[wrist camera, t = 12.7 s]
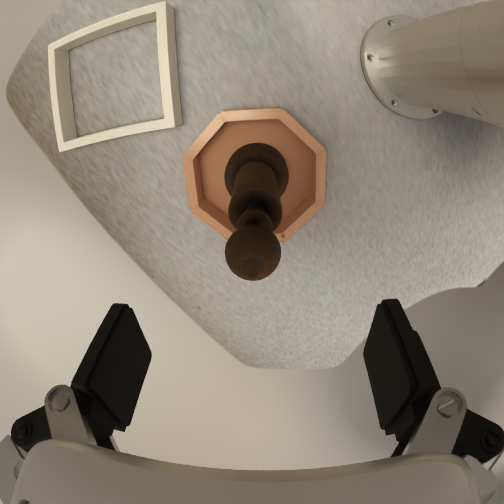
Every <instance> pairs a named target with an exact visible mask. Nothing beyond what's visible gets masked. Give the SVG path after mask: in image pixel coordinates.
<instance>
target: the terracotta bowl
mask: <svg viewBox="0 0 504 504" xmlns="http://www.w3.org/2000/svg"><path fill="white" fill-rule="evenodd" d="M250 143H264V144H268V145H270V146H272V147H274V148H275V149H277V150H278V151H279V152H280V153H281V155H282V156H283V158H284V159H285V162H286V164H287V167H288V172H289V181H288V185H287V188H286V190H285V192H284V194H283V195H282V196H281V197H280V200H281V204H282V210H283V216H282V220H281V223H280V225H279V226H278V228H277V229H276V230H275V231H273V233H274V234H275V235H276V237H277V238H278V241H279V242H285V240H286V241H287V240H288V239H289V238H290V237H291V236H292V235H294V234H295V233H296V232H297V231H298V230H299V229H300V228H301V227H302V226H303V225H304V224H305V223H307V222H308V221H309V220H310V219H311V218H312V217H313V216H314V215H315V214H316V213H317V212H318V211H319V210H321V209H322V208H323V207H324V204H325V194H326V155H327V151H326V149H325V148H324V147H323V146H322V145H321V144H320V143H319V142H318V141H317V140H316V139H315V138H314V137H313V136H312V135H311V134H310V133H309V132H308V131H307V130H305V129H304V128H303V127H302V126H301V125H300V124H299V123H298V122H297V121H296V120H295V119H294V118H293V117H292V116H290V115H289V114H288V113H287V112H286V111H285V110H284V109H282V108H280V107H270V108H248V109H234V110H224V111H222V112H220V113H218V115H217V116H216V117H215V118H214V119H213V120H212V122H211V123H210V124H209V125H208V126H207V127H206V129H205V130H204V131H203V132H202V133H201V135H200V136H199V137H198V138H197V139H196V141H195V142H194V143H193V144H192V146H191V147H190V148H189V149H188V151H187V152H186V153H185V154H184V156H183V158H182V160H183V167H184V174H185V182H186V188H187V195H188V202H189V208H190V210H191V212H192V213H193V214H195V215H196V216H197V217H198V218H200V219H201V220H202V221H204V222H205V223H206V224H207V225H209V226H210V227H211V228H213V229H214V230H215V231H217V232H218V233H219V234H220V235H222V236H223V237H224V238H226V239H227V240H228V239H229V237H230V236H231V235H232V233H233V232H235V231H236V229H235V228H234V226H233V225H232V224H231V222H230V219H229V216H228V207H229V203H230V200H231V196H230V194H229V193H228V191H227V189H226V186H225V181H224V173H225V168H226V165H227V163H228V161H229V159H230V157H231V155H232V154H233V153H234V152H235V151H236V150H237V149H239V148H240V147H242V146H244V145H247V144H250Z"/></svg>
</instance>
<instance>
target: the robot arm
mask: <svg viewBox="0 0 504 504" xmlns="http://www.w3.org/2000/svg"><path fill="white" fill-rule="evenodd" d="M388 24H389V25H390V26H389V25H388ZM367 57H369V58H370V60H369V61H368V60H367ZM361 63H362V68H363V72H364V75H365V78H366V80H367V82H368V84H369V86H370V88H371V90H372V91H373V92H374V94H375V95H376V96H377V98H378V99H379V100H380V101H381V102H382V103H383V104H384V105H385V106H386V107H388V108H389V109H391V110H392V111H394V112H395V113H398V114H400V115H402V116H405V117H408V118H413V119H419V120H420V119H430V118H433V117H436V116H438V115H439V114H441V113H443V112H449V113H453V114H458V115H462V116H466V117H469V118H473V119H477V120H481V121H484V122H487V123H491V124H494V125H497V126H500V127H503V128H504V0H493V1H488V2H483V3H478V4H474V5H469V6H465V7H461V8H457V9H454V10H450V11H446V12H443V13H440V14H436V15H433V16H430V17H427V18H424V19H421V20H417V19H414V18H412V17H407V16H391V17H387V18H384V19H382V20H380V21H378V22H377V23H375V24H374V25H373V26H371V28H370V29H369V30H368V32H367V33H366V35H365V37H364V39H363V42H362V47H361ZM391 101H393V104H391ZM432 109H433V110H432ZM363 353H364V354H363V355H364V360H365V364H366V368H367V372H368V376H369V380H370V384H371V388H372V392H373V396H374V401H375V405H376V410H377V414H378V419H379V424H380V427H381V429H382V430H383V429H385V433H386V435H391V434H395V436H396V440H397V443H396V445H395V446H394V448H393V450H392V452H391V453H390V455H389V457H388V458H385V459H380V460H374V461H369V462H363V463H356V464H349V465H342V466H334V467H325V468H315V469H301V470H271V471H270V470H268V471H266V470H265V471H264V470H263V471H262V470H232V469H217V468H206V467H197V466H190V465H182V464H176V463H169V462H164V461H159V460H154V459H148V458H144V457H139V456H135V455H131V454H127V453H122V452H120V451H119V449H118V447H117V445H116V443H115V440H114V438H113V436H112V433H113V430H114V429H115V430H119V431H123V432H125V429H126V426H129V425H130V423H131V420H132V417H133V413H134V409H135V407H136V404H137V401H138V398H139V394H140V391H141V388H142V385H143V382H144V379H145V376H146V373H147V370H148V367H149V364H150V361H151V356H152V354H151V350H150V348H149V346H148V343H147V341H146V339H145V337H144V335H143V332H142V330H141V328H140V326H139V323H138V321H137V318H136V316H135V313H134V311H133V309H132V308H129V306H128V304H118V303H114V304H113V305H112V306H111V308H110V309H109V311H108V313H107V315H106V316H105V318H104V320H103V322H102V324H101V325H100V327H99V329H98V331H97V333H96V335H95V336H94V338H93V340H92V342H91V344H90V346H89V348H88V350H87V352H86V354H85V356H84V358H83V360H82V362H81V364H80V366H79V368H78V370H77V372H76V374H75V376H74V378H73V380H72V382H71V383H72V384H71V386H70V387H69V386H67V385H57V386H55V387H53V388H52V389H51V390H50V391H49V392H48V393H47V395H46V397H45V405H44V406H43V407H41V408H39V409H37V410H35V411H33V412H31V413H29V414H27V415H25V416H23V417H21V418H19V419H18V420H16V421H15V423H14V424H13V426H12V429H11V436H9V435H7V436H6V437H5V438H4V439H3V440H2V441H1V442H0V499H1V500H2V502H3V504H504V431H503V429H502V428H501V427H500V426H499V425H497V424H496V423H493V422H492V421H490V420H488V419H486V418H484V417H482V416H480V415H478V414H476V413H474V412H472V411H470V410H468V409H467V404H466V400H465V397H464V396H463V394H462V393H461V392H460V391H458V390H457V389H454V388H450V387H448V388H447V387H446V388H443V389H441V387H440V384H439V381H438V379H437V376H436V374H435V371H434V369H433V367H432V364H431V362H430V359H429V357H428V355H427V353H426V350H425V348H424V345H423V343H422V341H421V339H420V336H419V335H418V333H417V332H416V331H414V330H413V329H412V327H411V325H410V323H409V321H408V318H407V316H406V314H405V312H404V310H403V308H402V306H401V304H400V302H399V300H398V299H385V300H382V302H381V304H378V305H377V308H376V311H375V315H374V318H373V322H372V325H371V328H370V332H369V335H368V338H367V341H366V345H365V347H364V352H363Z"/></svg>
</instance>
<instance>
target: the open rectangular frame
mask: <svg viewBox="0 0 504 504" xmlns="http://www.w3.org/2000/svg"><path fill="white" fill-rule="evenodd" d="M154 20H157V41H158V57H159V70H160V82H161V92H162V102H163V111H164V118H161V119H155V120H149V121H144V122H139V123H134V124H129V125H125V126H120V127H116V128H111V129H107V130H103V131H99V132H95V133H92V134H88V135H84V136H81V137H77V132H76V125H75V119H74V111H73V103H72V94H71V84H70V70H69V50H70V49H72V48H75V47H77V46H79V45H82V44H84V43H87V42H89V41H92V40H94V39H97V38H99V37H102V36H105V35H108V34H110V33H113V32H116V31H119V30H122V29H125V28H129V27H132V26H135V25H139V24H142V23H146V22H150V21H154ZM48 60H49V78H50V91H51V101H52V109H53V117H54V124H55V130H56V136H57V142H58V148H59V152H62V151H66V150H69V149H73V148H76V147H80V146H84V145H87V144H91V143H95V142H99V141H104V140H108V139H112V138H117V137H122V136H126V135H131V134H137V133H142V132H147V131H153V130H159V129H166V128H172V127H176V126H179V125H181V124H183V121H182V112H181V102H180V91H179V80H178V68H177V54H176V39H175V20H174V8H173V7H172V6H171V5H169V4H168V3H167V2H166V1H164V2H160V3H156V4H152V5H148V6H145V7H141V8H138V9H135V10H131V11H128V12H125V13H122V14H119V15H116V16H113V17H110V18H108V19H105V20H102V21H100V22H97V23H95V24H92V25H90V26H87V27H85V28H83V29H80V30H78V31H76V32H74V33H72V34H70V35H67V36H65V37H63V38H61V39H59V40H57V41H55V42H53V43H51V44H50V45H48Z"/></svg>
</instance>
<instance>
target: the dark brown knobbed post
mask: <svg viewBox="0 0 504 504" xmlns="http://www.w3.org/2000/svg"><path fill="white" fill-rule="evenodd" d="M224 181H225V186H226V189H227V191H228V193H229V194H230V196H231V200H230V203H229V207H228V216H229V219H230V222H231V224H232V225H233V226H234V228H235V229H236V231H235V232H233V233H232V235H231V236H230V237H229V239H228V241H227V243H226V247H225V257H226V261H227V264H228V266H229V268H230V269H231V270H232V272H233V273H234V274H236V275H237V276H238V277H240V278H242V279H245V280H250V281H255V280H261V279H264V278H266V277H267V276H269V275H270V274H271V273H272V272H273V271H274V270H275V269H276V267H277V266H278V264H279V261H280V257H281V247H280V243H279V241H278V238H277V237H276V235H275V234H274V233H273V231H275V230H276V229H277V228H278V226H279V225H280V223H281V220H282V216H283V210H282V204H281V200H280V197H281V196H282V195H283V194H284V192H285V190H286V188H287V185H288V181H289V172H288V167H287V164H286V162H285V159H284V158H283V156H282V155H281V153H280V152H279V151H278V150H277V149H275V148H274V147H272V146H270V145H268V144H264V143H250V144H247V145H244V146H242V147H240V148H239V149H237V150H236V151H235V152H234V153H233V154H232V155H231V157H230V159H229V161H228V163H227V165H226V168H225V173H224Z"/></svg>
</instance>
